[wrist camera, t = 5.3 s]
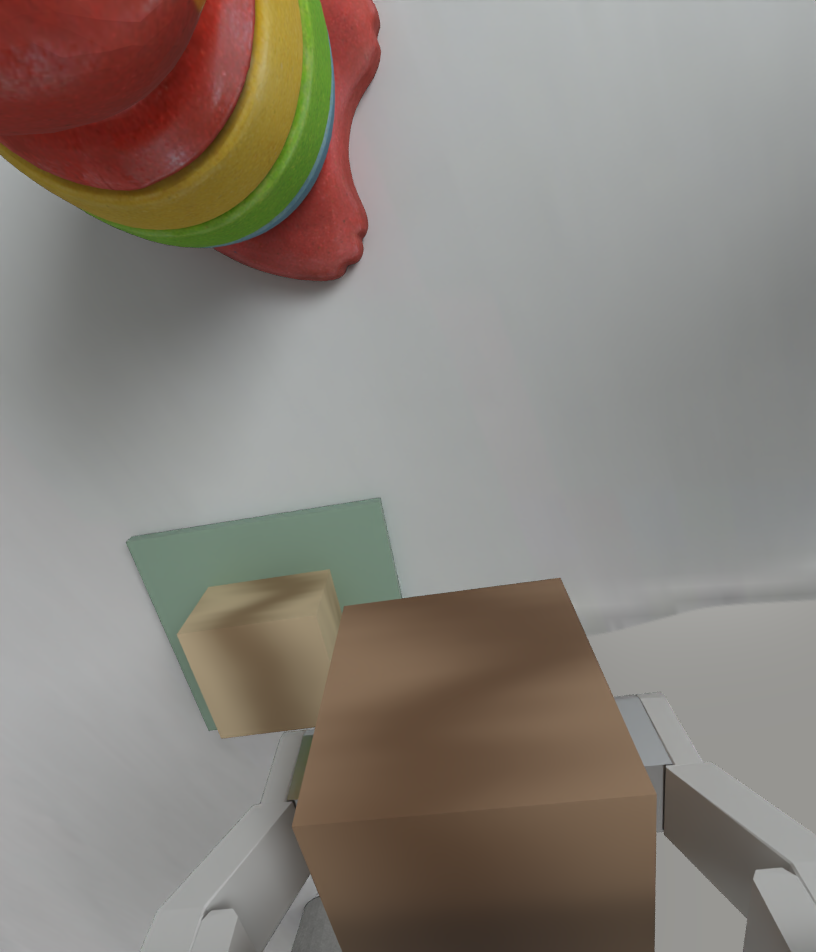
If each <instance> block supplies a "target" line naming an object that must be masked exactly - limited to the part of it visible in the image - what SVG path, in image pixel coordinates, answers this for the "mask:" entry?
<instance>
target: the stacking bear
mask: <svg viewBox="0 0 816 952" xmlns="http://www.w3.org/2000/svg"><path fill="white" fill-rule="evenodd" d="M379 29H380V20H379V15H378V11H377V9H376V7H375V4H374V3H373V1H372V0H0V155H1V156H2V157H3V158H5V159H6V160H7V161H8V162H9V163H11V164H12V165H13V166H14V167H16V168H17V169H18V170H20V171H21V172H22V173H24V174H25V175H26V176H28V177H29V178H30V179H32V180H33V181H35V182H36V183H38V184H39V185H41V186H42V187H44V188H45V189H47V190H48V191H50V192H52V193H53V194H55V195H57V196H59V197H60V198H62V199H64V200H65V201H67V202H69V203H71V204H73V205H75V206H76V207H78V208H80V209H81V210H83V211H85V212H86V213H88V214H89V215H91V216H93V217H95V218H97V219H99V220H101V221H103V222H105V223H107V224H109V225H111V226H113V227H115V228H117V229H120V230H122V231H125V232H127V233H130V234H133V235H135V236H138V237H141V238H144V239H147V240H150V241H154V242H157V243H162V244H166V245H172V246H179V247H192V248H214V249H215V250H217V251H219V252H221V253H222V254H224V255H226V256H228V257H230V258H232V259H234V260H236V261H238V262H240V263H242V264H244V265H247V266H249V267H252V268H255V269H257V270H260V271H263V272H267V273H271V274H274V275H278V276H283V277H288V278H294V279H300V280H312V281H328V280H334V279H337V278H340V277H341V276H343V275H344V273H345V272H346V269H347V266H349V265H351V264H355V263H357V262H358V261H359V260H360V259H361V257H362V254H363V250H364V249H363V243H362V239H363V238H364V236H365V235H366V233H367V230H368V220H367V215H366V212H365V209H364V207H363V205H362V203H361V200H360V198H359V196H358V193H357V191H356V188H355V186H354V183H353V179H352V174H351V170H350V163H349V148H348V147H349V135H350V129H351V124H352V120H353V116H354V113H355V110H356V107H357V105H358V103H359V101H360V99H361V97H362V96H363V94H364V92H365V91H366V89H367V87H368V86H369V84H370V83H371V81H372V79H373V78H374V76H375V73H376V71H377V68H378V65H379V62H380V55H381V50H380V46H379V43H378V41H377V36H378V33H379Z"/></svg>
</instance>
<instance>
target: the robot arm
mask: <svg viewBox="0 0 816 952" xmlns="http://www.w3.org/2000/svg"><path fill="white" fill-rule="evenodd" d="M614 699H615V702H616V704H617V706H618V708H619V711H620V713H621V715H622V717H623V720H624V722H625V724H626V726H627V729H628V731H629V733H630V735H631V738H632V740H633V742H634V744H635V747H636V749H637V751H638V753H639V756H640V758H641V760H642V762H643V765H644V767H645V769H646V771H647V774H648V776H649V778H650V780H651V783H652V785H653V787H654V789H655V792H656V794H657V808H656V832H664V835H665V836H666V837H667V838H668V839H669V840H670V841H671V842H672V843H673V844H674V845H675V846H676V847H677V848H678V849H679V850H680V851H681V852H682V853H683V854H684V855H685V856H686V857H687V858H688V859H689V860H690V861H691V862H692V863H693V864H694V865H695V866H696V867H697V868H698V869H699V870H700V871H701V872H702V873H703V875H705V876H706V878H707V879H709V880H710V881H711V883H712V884H713V885H714V886H715V887H716V888H717V889H718V890H719V891H720V892H721V893H722V894H723V895H724V896H725V897H726V898H727V899H728V900H729V901H730V902H731V903H732V904H733V905H734V906H735V907H736V908H737V909H738V910H739V911H740V912H741V913H742V914H743V915H744V916H745V917H746V918H747V926H746V934H745V940H744V947H743V952H816V834H814V833H813V832H811V831H810V830H808V829H807V828H806V827H804V826H803V825H801V824H800V823H799V822H797V821H796V820H794V819H793V818H791V817H790V816H789V815H787V814H786V813H784V812H783V811H781V810H780V809H779V808H777V807H776V806H774V805H773V804H771V803H770V802H769V801H767V800H766V799H764V798H763V797H761V796H759V794H757V793H755V792H754V791H753V790H751V789H750V788H748V787H747V786H746V785H744V784H743V783H741V782H740V781H738V780H737V779H735V778H734V777H733V776H731V775H730V774H728V773H727V772H726V771H724V770H723V769H721V768H720V767H718V766H717V765H716V764H714V763H713V762H703V760H702V759H701V757H700V755H699V753H698V752H697V750H696V748H695V747H694V745H693V743H692V741H691V740H690V738H689V736H688V735H687V733H686V731H685V729H684V727H683V726H682V724H681V722H680V721H679V719H678V717H677V715H676V714H675V712H674V710H673V708H672V707H671V705H670V703H669V701H668V700H667V698H666V696H665V695H664V694H663V693H661V692H654V693H645V694H636V695H625V696H617V697H614ZM314 730H315V729H312V730H303V731H292V732H285V733H284V734H283V736H282V737H281V739H280V741H279V744H278V747H277V751H276V754H275V757H274V760H273V764H272V767H271V770H270V773H269V777H268V780H267V783H266V786H265V790H264V793H263V796H262V799H261V802H260V804H257V805H253V806H252V807H251V808H250V809H249V810H248V811H247V813H246V814H245V815H244V816H243V817H242V818H241V819H240V820H239V821H238V822H237V824H236V825H235V826H234V827H233V828H232V829H231V830H230V831H229V832H228V834H227V835H226V836H225V837H224V838H223V839H222V840H221V841H220V842H219V843H218V845H217V846H216V847H215V848H214V849H213V850H212V851H211V852H210V853H209V854H208V856H207V857H206V858H205V859H204V860H203V861H202V862H201V863H200V864H199V866H198V867H197V868H196V869H195V870H194V871H193V872H192V873H191V874H190V875H189V877H188V878H187V879H186V880H185V881H184V882H183V883H182V884H181V885H180V886H179V888H178V889H177V890H176V891H175V892H174V893H173V894H172V895H171V896H170V898H169V899H168V900H167V901H166V902H165V903H164V904H163V905H162V906H161V907H160V909H159V910H158V911H157V912H156V915H155V917H154V919H153V922H152V924H151V926H150V929H149V931H148V934H147V936H146V938H145V941H144V943H143V945H142V948H141V950H140V952H262V951H263V950H264V948H265V947H266V945H267V943H268V942H269V940H270V938H271V937H272V935H273V934H274V932H275V930H276V929H277V927H278V925H279V924H280V922H281V921H282V919H283V917H284V916H285V914H286V912H287V911H288V909H289V908H290V906H291V904H292V903H293V901H294V899H295V898H296V896H297V895H298V893H299V891H300V890H301V888H302V886H303V885H304V883H305V882H306V880H307V878H308V877H309V875H310V871H309V869H308V866H307V864H306V861H305V859H304V856H303V854H302V851H301V849H300V846H299V844H298V841H297V839H296V836H295V834H294V831H293V829H292V823H293V819H294V815H295V810H296V806H297V802H298V798H299V794H300V789H301V785H302V781H303V777H304V773H305V768H306V764H307V760H308V756H309V751H310V747H311V743H312V739H313V735H314Z"/></svg>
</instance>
